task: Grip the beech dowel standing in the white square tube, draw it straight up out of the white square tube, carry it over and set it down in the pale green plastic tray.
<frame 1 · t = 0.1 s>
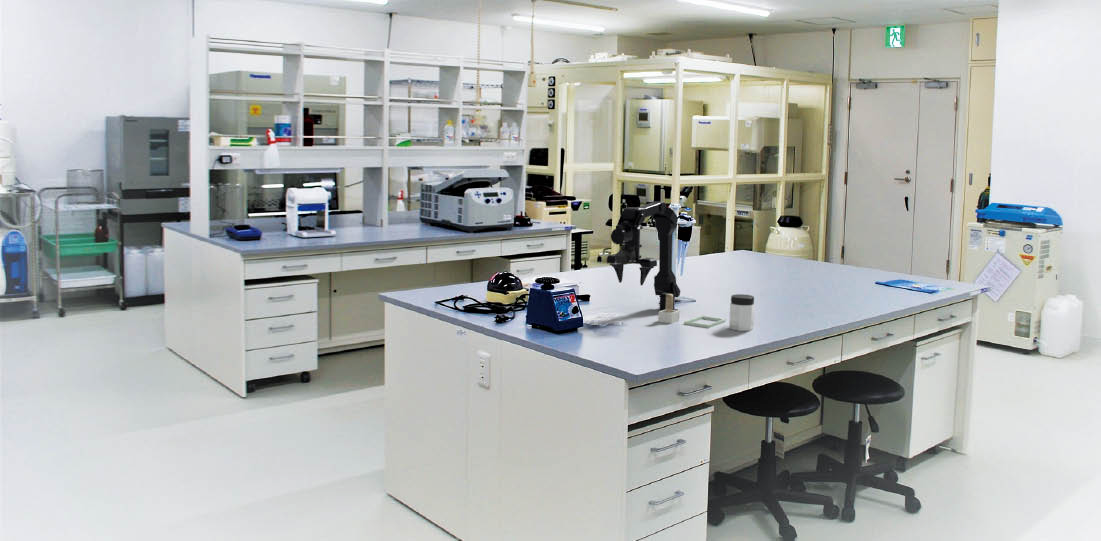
hand: (630, 283, 330), 15 cm above the countertop, fingers open, 9 cm apart
white square tube: (668, 323, 332), on the countertop
dowel: (668, 321, 331), point 1 cm above the countertop, touching white square tube
tray: (705, 325, 329), on the countertop
jar: (741, 329, 324), on the countertop
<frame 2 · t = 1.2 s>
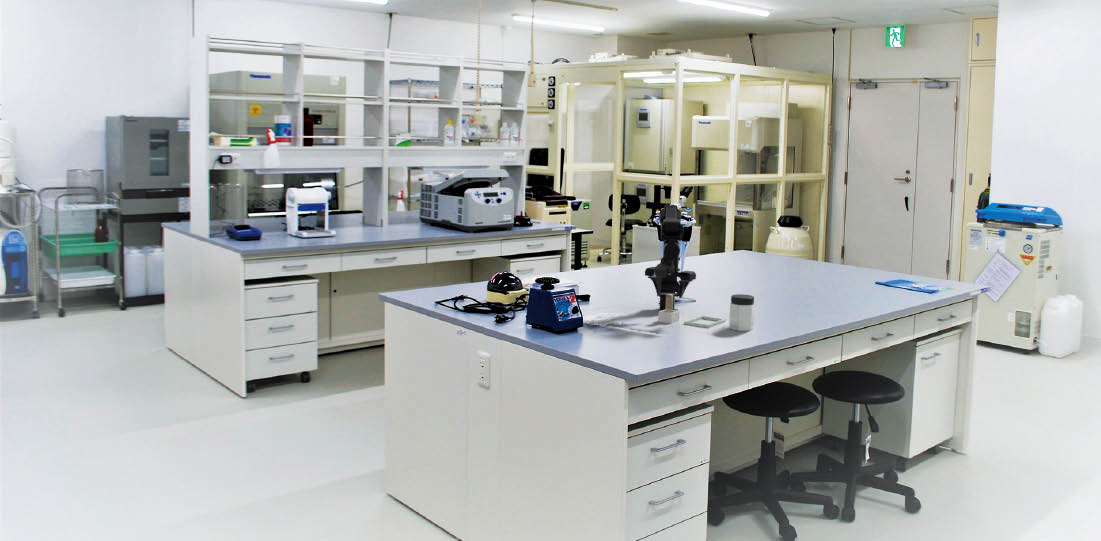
hand: (669, 296, 330), 10 cm above the countertop, fingers open, 9 cm apart
nothing on the countertop moved.
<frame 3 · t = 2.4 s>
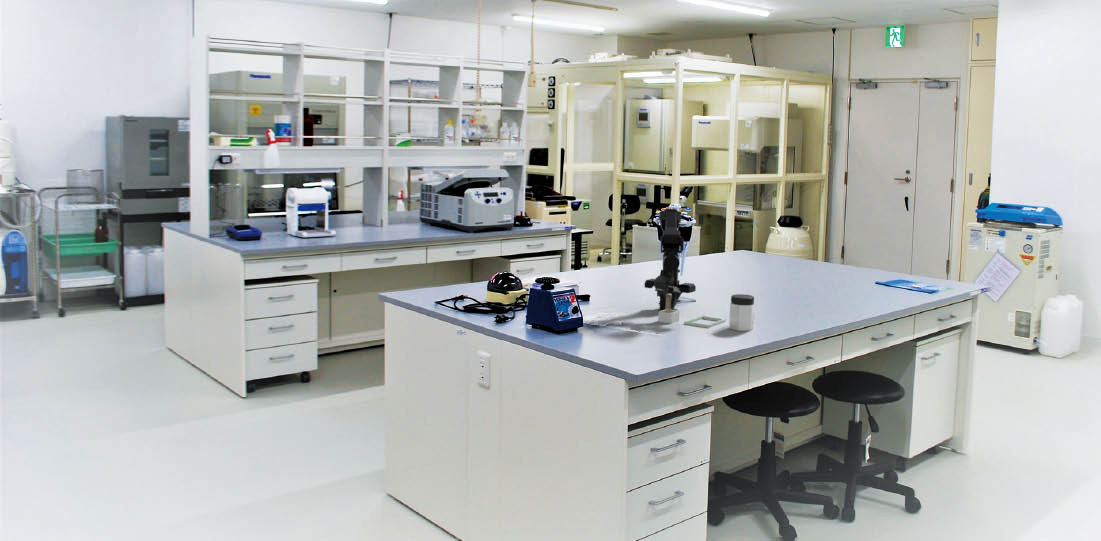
hand: (669, 308, 331), 6 cm above the countertop, fingers closed on dowel, 3 cm apart
dowel: (668, 321, 331), point 1 cm above the countertop, touching white square tube, gripper
everything else where it was.
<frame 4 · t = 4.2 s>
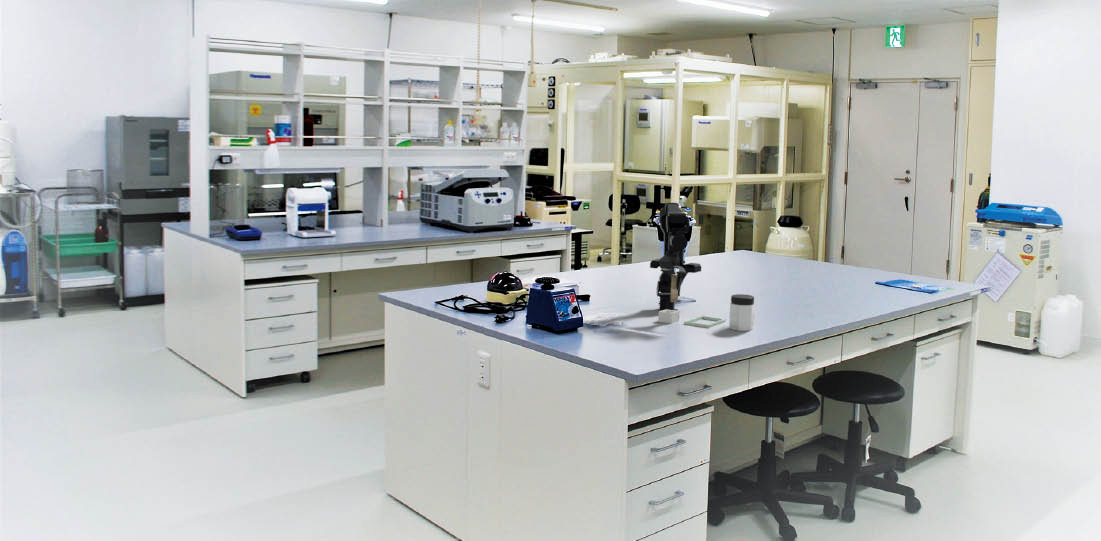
hand: (674, 289, 329), 13 cm above the countertop, fingers closed on dowel, 3 cm apart
dowel: (674, 301, 330), point 8 cm above the countertop, touching gripper
everything else where it was.
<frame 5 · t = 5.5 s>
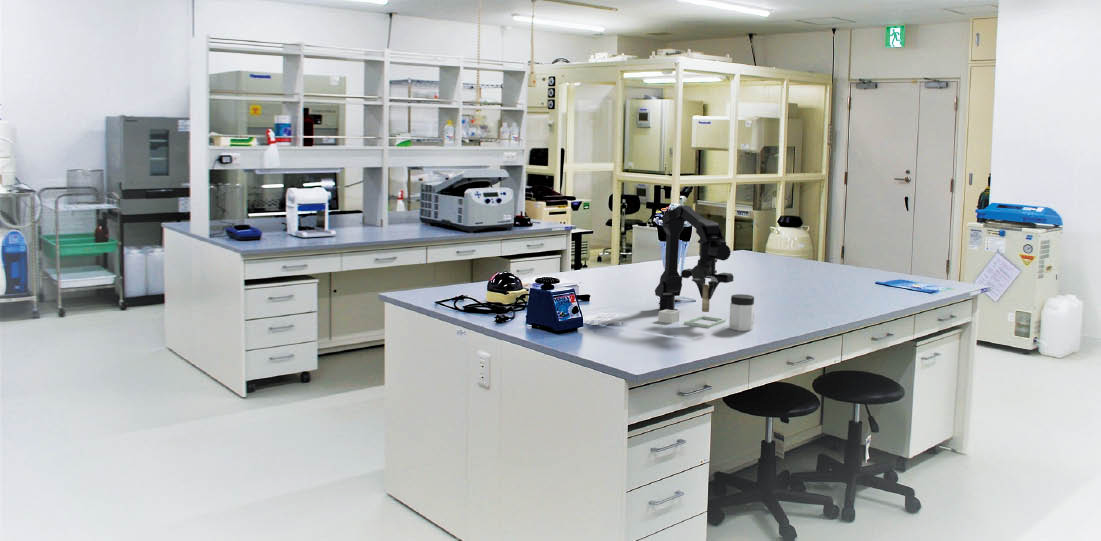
hand: (706, 298, 328), 10 cm above the countertop, fingers closed on dowel, 3 cm apart
dowel: (705, 311, 328), point 5 cm above the countertop, touching gripper
everything else where it was.
when the fingers open (7 cm above the countertop, at t = 6.2 s): dowel drops 1 cm, resting on tray.
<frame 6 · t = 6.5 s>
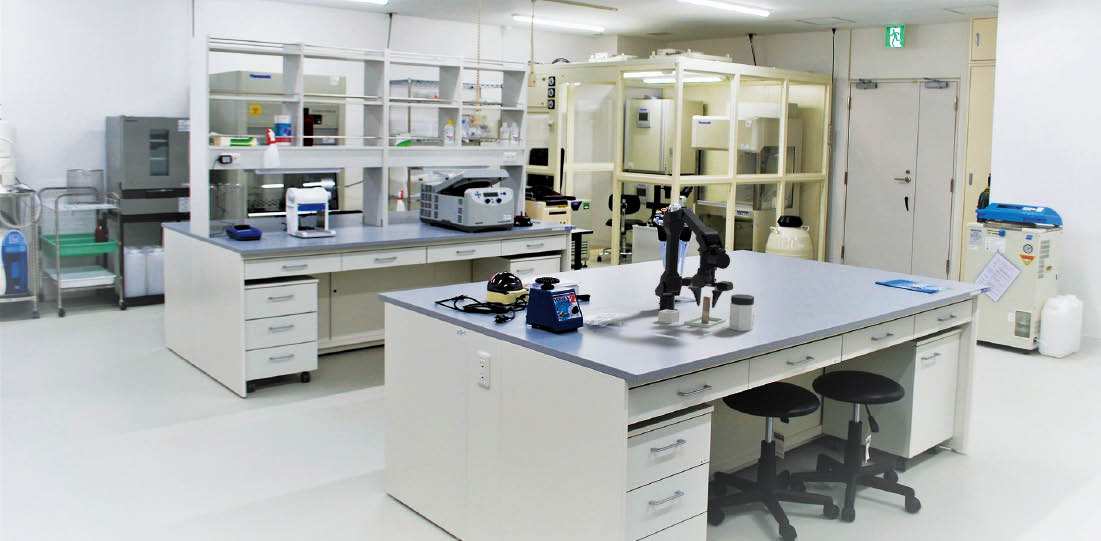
hand: (705, 306, 328), 7 cm above the countertop, fingers open, 6 cm apart
dowel: (704, 323, 329), point 1 cm above the countertop, touching tray
everything else where it was.
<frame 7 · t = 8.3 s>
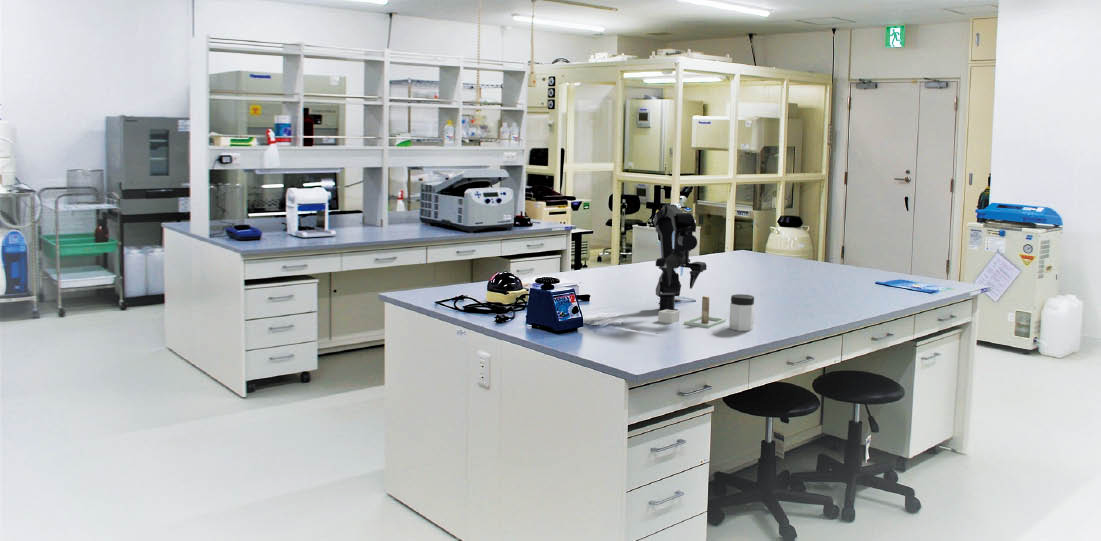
hand: (679, 287, 336), 13 cm above the countertop, fingers open, 9 cm apart
nothing on the countertop moved.
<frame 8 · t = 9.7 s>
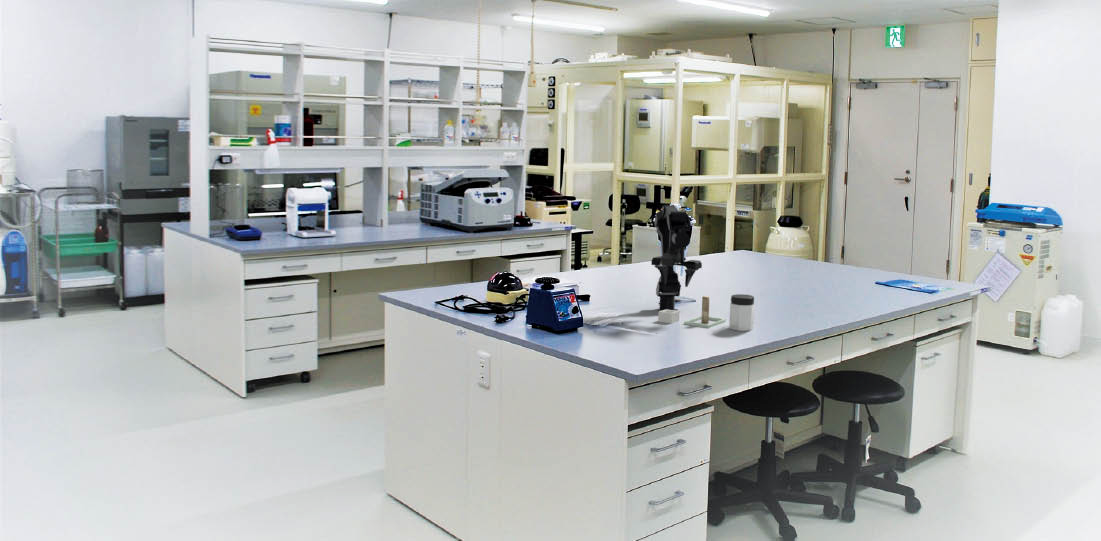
hand: (675, 285, 337), 13 cm above the countertop, fingers open, 9 cm apart
nothing on the countertop moved.
at the end: dowel inside the target area on the tray (0.1 cm from its centre), point 0.6 cm above the tray's base; the gripper is holding nothing; dowel touching tray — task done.
